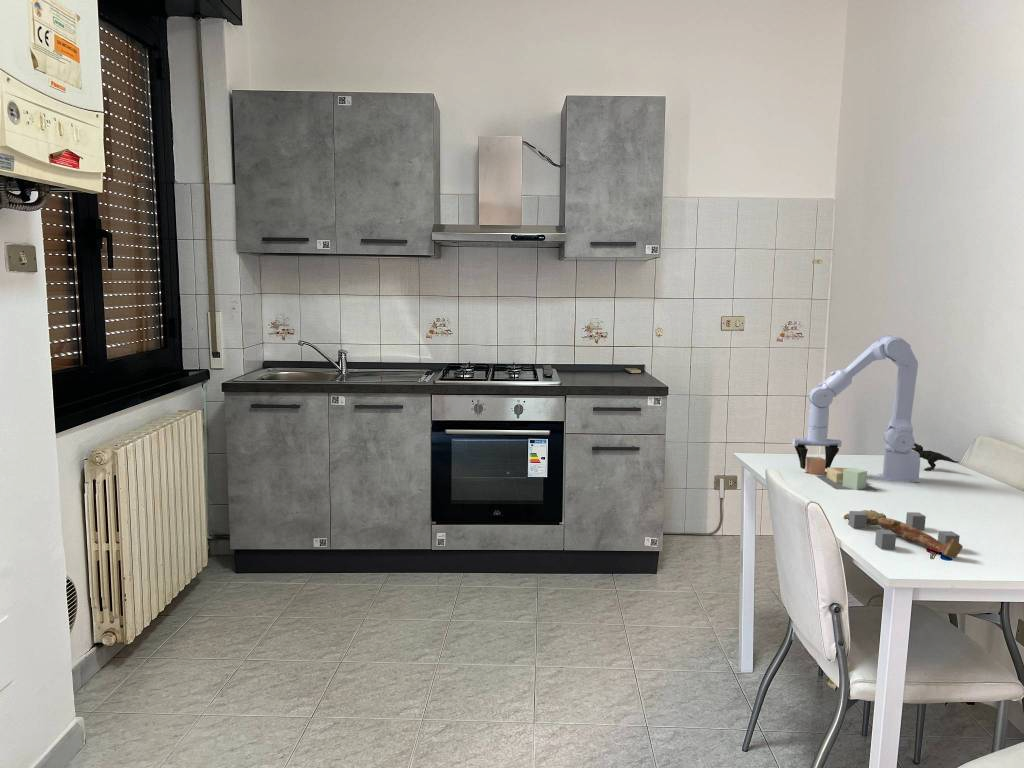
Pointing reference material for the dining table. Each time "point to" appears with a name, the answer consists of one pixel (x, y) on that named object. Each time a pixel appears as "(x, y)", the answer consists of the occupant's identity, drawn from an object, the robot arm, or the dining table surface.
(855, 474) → the sage cube
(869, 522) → the figurine
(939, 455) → the toy
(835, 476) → the oak slab
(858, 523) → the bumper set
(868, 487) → the mat
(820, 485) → the dining table surface
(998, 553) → the dining table surface
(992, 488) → the dining table surface
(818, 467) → the terracotta cube
